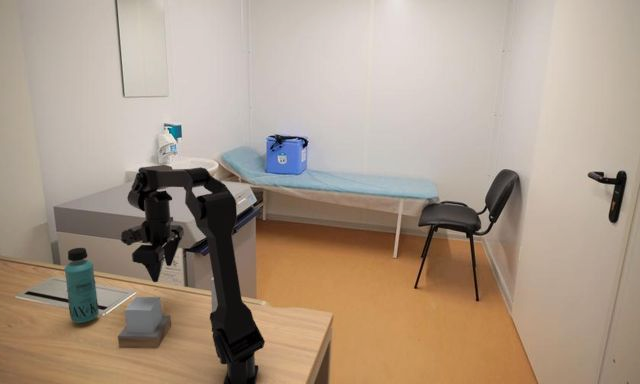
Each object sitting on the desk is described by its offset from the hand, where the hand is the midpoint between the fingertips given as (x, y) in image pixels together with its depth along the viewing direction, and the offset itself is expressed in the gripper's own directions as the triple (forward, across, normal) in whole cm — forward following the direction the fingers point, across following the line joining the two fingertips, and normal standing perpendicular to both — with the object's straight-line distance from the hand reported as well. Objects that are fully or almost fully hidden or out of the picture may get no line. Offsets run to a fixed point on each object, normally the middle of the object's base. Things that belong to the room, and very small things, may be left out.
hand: (162, 273), depth 102 cm
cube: (+10, +8, -2) cm, 13 cm away
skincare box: (+13, -2, +15) cm, 20 cm away
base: (+13, +8, -2) cm, 15 cm away
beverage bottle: (+13, +2, -20) cm, 24 cm away
